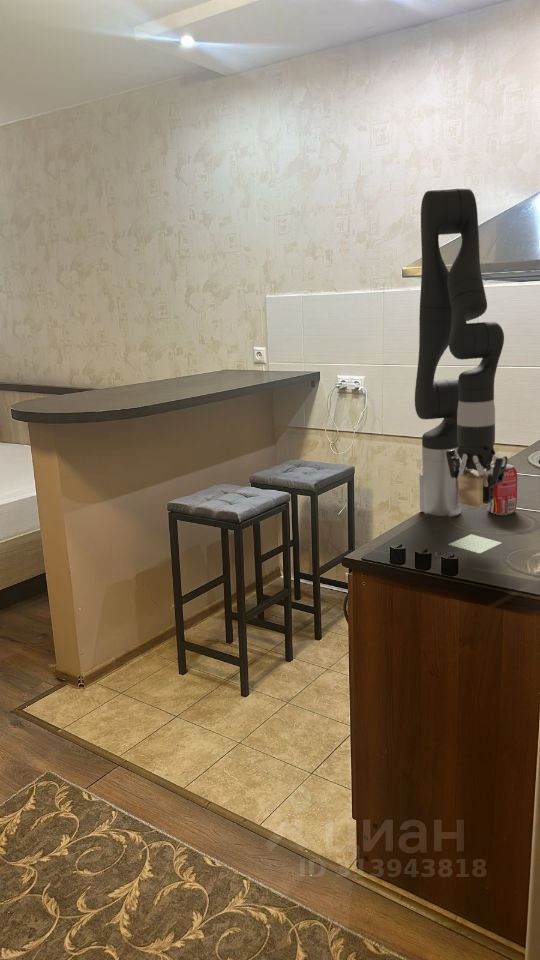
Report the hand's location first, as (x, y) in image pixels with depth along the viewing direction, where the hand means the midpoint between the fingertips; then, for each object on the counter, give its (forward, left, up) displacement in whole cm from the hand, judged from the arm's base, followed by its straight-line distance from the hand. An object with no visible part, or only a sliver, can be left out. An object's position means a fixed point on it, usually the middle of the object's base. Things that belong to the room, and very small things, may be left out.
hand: (475, 499), depth 146 cm
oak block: (0, 0, 0) cm, 0 cm away
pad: (0, 0, -11) cm, 11 cm away
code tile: (-1, -9, -11) cm, 14 cm away
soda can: (-9, +23, -11) cm, 27 cm away
